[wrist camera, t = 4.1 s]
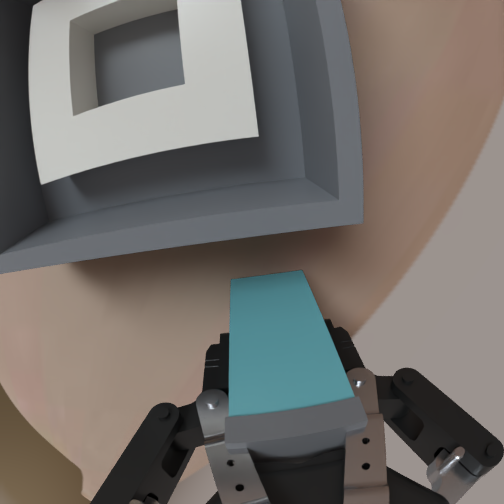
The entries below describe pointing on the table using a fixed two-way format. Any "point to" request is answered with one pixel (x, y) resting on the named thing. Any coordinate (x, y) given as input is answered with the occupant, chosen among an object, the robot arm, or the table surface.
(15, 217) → the walled box
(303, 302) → the peg
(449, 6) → the table surface
